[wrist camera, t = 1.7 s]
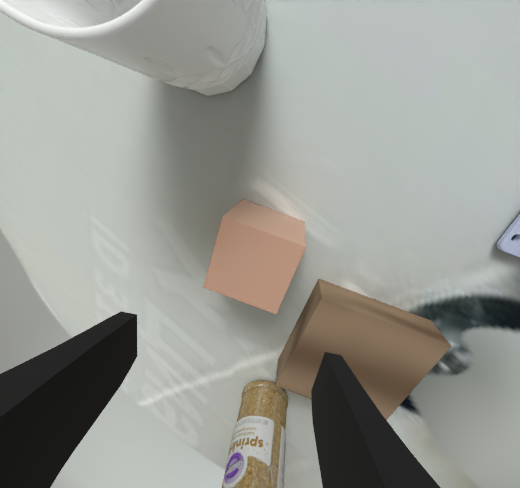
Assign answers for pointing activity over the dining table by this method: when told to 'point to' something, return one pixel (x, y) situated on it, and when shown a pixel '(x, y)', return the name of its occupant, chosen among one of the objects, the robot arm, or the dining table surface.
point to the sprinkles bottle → (258, 439)
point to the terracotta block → (256, 255)
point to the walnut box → (360, 345)
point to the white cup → (158, 36)
